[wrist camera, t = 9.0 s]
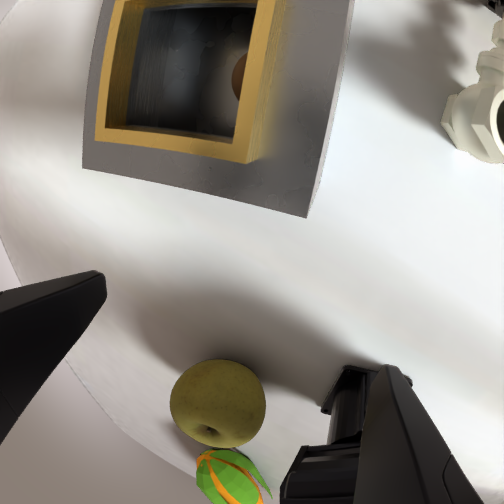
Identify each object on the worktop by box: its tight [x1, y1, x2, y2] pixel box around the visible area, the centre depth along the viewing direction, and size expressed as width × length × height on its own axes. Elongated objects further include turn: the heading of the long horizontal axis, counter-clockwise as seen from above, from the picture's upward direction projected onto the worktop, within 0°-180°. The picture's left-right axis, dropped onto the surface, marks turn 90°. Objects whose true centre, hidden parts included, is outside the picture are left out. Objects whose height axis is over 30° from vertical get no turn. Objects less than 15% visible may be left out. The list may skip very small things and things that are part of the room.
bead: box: [231, 52, 248, 101], centre depth 14 cm, size 4×4×4 cm
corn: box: [196, 448, 273, 504], centre depth 32 cm, size 7×8×20 cm
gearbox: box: [82, 0, 354, 218], centre depth 12 cm, size 14×12×8 cm
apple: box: [170, 359, 266, 448], centre depth 23 cm, size 8×8×7 cm
